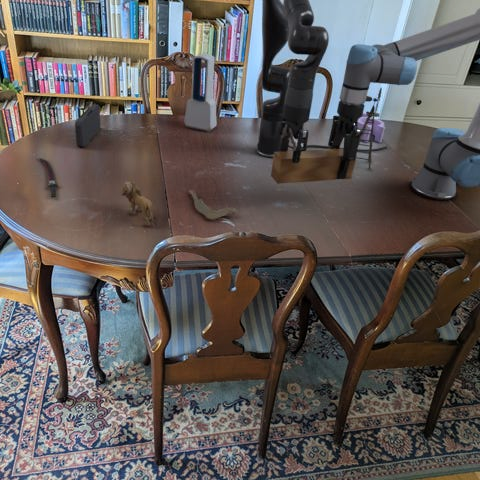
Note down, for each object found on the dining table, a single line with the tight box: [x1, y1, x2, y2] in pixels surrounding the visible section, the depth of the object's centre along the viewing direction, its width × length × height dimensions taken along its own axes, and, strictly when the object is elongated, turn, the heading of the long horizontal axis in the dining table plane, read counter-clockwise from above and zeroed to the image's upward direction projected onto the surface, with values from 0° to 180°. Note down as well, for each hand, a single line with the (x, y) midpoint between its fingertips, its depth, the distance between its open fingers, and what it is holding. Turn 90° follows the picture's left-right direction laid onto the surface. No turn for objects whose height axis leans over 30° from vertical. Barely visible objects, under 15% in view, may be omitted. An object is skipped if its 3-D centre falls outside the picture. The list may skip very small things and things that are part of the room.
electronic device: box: [183, 53, 218, 133], centre depth 195 cm, size 12×8×30 cm, turn 71°
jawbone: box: [188, 189, 239, 221], centre depth 143 cm, size 9×20×2 cm, turn 50°
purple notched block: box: [357, 112, 386, 143], centre depth 214 cm, size 20×12×7 cm, turn 11°
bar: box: [270, 148, 358, 185], centre depth 144 cm, size 26×6×8 cm, turn 109°
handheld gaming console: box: [74, 103, 101, 148], centre depth 180 cm, size 23×3×10 cm, turn 178°
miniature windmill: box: [356, 86, 383, 170], centre depth 177 cm, size 9×8×30 cm
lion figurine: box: [119, 181, 159, 227], centre depth 134 cm, size 15×5×9 cm, turn 50°
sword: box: [40, 158, 59, 198], centre depth 151 cm, size 31×3×1 cm, turn 26°
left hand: (289, 156), depth 140 cm, fingers open, 8 cm apart
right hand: (336, 174), depth 149 cm, fingers closed on bar, 5 cm apart
